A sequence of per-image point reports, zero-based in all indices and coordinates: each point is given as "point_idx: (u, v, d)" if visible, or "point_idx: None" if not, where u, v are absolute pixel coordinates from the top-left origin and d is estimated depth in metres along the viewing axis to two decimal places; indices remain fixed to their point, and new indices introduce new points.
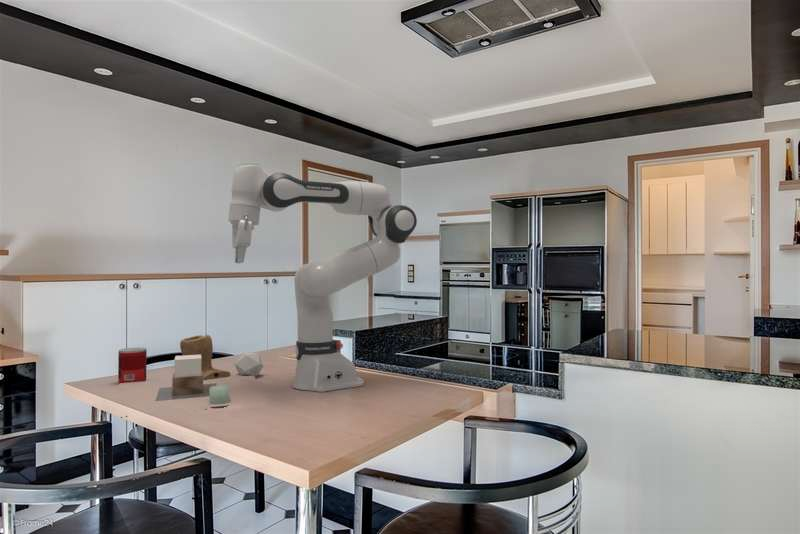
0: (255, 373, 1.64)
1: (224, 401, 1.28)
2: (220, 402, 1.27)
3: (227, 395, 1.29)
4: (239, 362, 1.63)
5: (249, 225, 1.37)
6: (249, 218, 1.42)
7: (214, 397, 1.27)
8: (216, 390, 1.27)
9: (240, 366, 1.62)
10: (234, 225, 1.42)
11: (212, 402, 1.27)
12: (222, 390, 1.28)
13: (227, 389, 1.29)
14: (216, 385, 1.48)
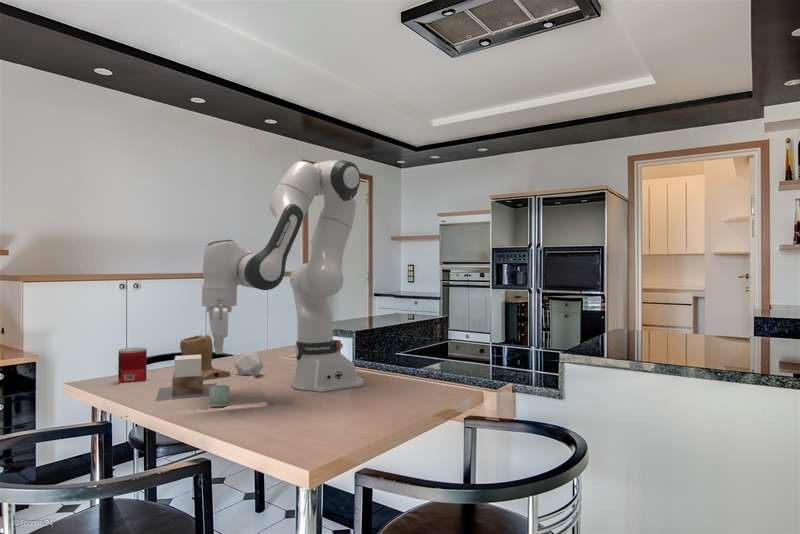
0: (255, 373, 1.64)
1: (224, 401, 1.28)
2: (220, 402, 1.27)
3: (227, 395, 1.29)
4: (239, 362, 1.63)
5: (224, 314, 1.22)
6: (225, 302, 1.26)
7: (214, 397, 1.27)
8: (216, 390, 1.27)
9: (240, 366, 1.62)
10: (209, 311, 1.27)
11: (212, 402, 1.27)
12: (222, 390, 1.28)
13: (227, 389, 1.29)
14: (216, 385, 1.48)
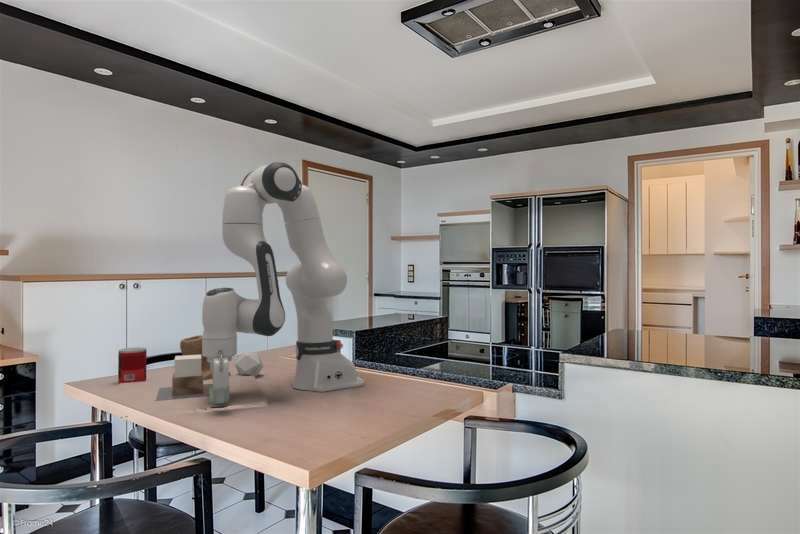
0: (255, 373, 1.64)
1: (224, 401, 1.28)
2: None
3: (227, 395, 1.29)
4: (239, 362, 1.63)
5: (225, 366, 1.21)
6: (225, 352, 1.26)
7: (214, 397, 1.27)
8: None
9: (240, 366, 1.62)
10: (209, 361, 1.27)
11: (212, 402, 1.27)
12: None
13: (227, 389, 1.29)
14: None
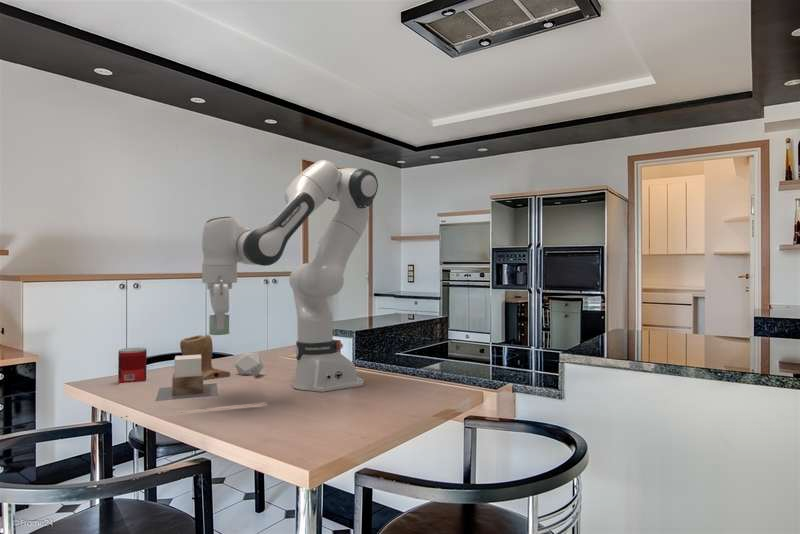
0: (255, 373, 1.64)
1: (224, 328, 1.28)
2: (220, 329, 1.28)
3: (227, 323, 1.29)
4: (239, 362, 1.63)
5: (225, 289, 1.22)
6: (225, 279, 1.27)
7: (214, 323, 1.27)
8: None
9: (240, 366, 1.62)
10: (209, 288, 1.28)
11: (212, 329, 1.28)
12: None
13: (227, 317, 1.29)
14: (216, 385, 1.48)
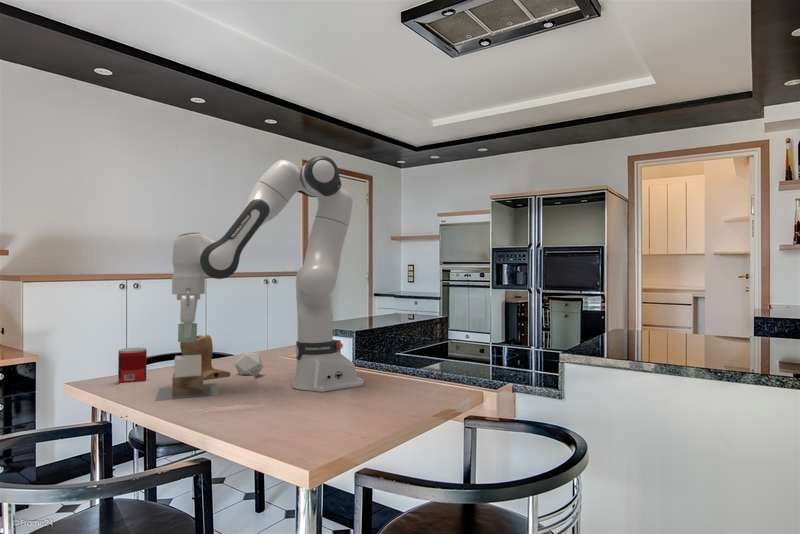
0: (255, 373, 1.64)
1: (191, 336, 1.39)
2: None
3: (194, 331, 1.40)
4: (239, 362, 1.63)
5: (191, 300, 1.32)
6: (193, 290, 1.37)
7: (182, 331, 1.38)
8: None
9: (240, 366, 1.62)
10: (178, 298, 1.38)
11: (180, 336, 1.38)
12: None
13: (194, 325, 1.40)
14: (216, 385, 1.48)
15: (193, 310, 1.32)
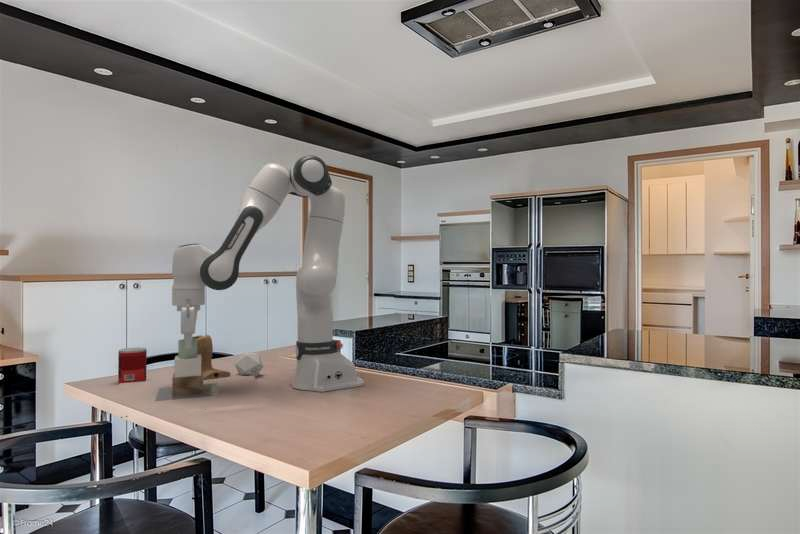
0: (255, 373, 1.64)
1: (192, 352, 1.39)
2: (188, 353, 1.38)
3: (195, 347, 1.40)
4: (239, 362, 1.63)
5: (191, 312, 1.32)
6: (193, 302, 1.37)
7: (182, 348, 1.38)
8: (184, 342, 1.38)
9: (240, 366, 1.62)
10: (178, 310, 1.38)
11: (180, 353, 1.38)
12: None
13: (194, 341, 1.40)
14: (216, 385, 1.48)
15: (193, 322, 1.32)
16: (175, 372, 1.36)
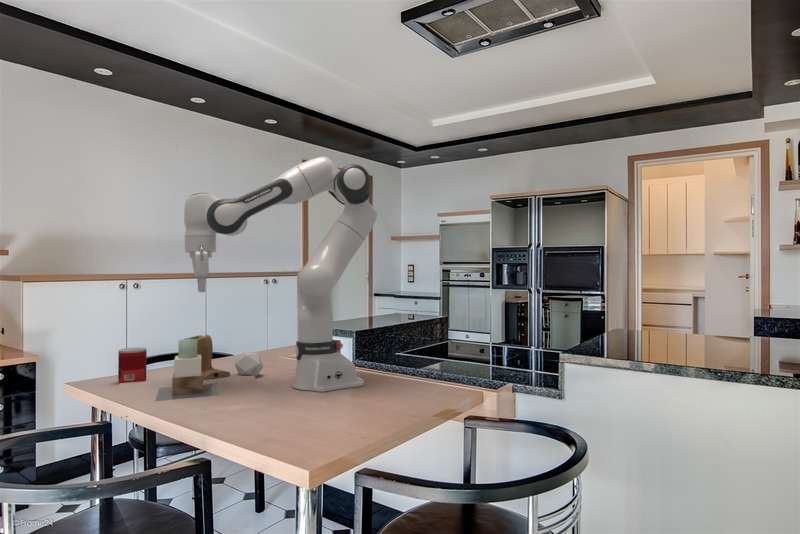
0: (255, 373, 1.64)
1: (192, 352, 1.39)
2: (188, 353, 1.38)
3: (195, 347, 1.40)
4: (239, 362, 1.63)
5: (205, 255, 1.39)
6: (205, 247, 1.44)
7: (182, 348, 1.38)
8: (184, 342, 1.38)
9: (240, 366, 1.62)
10: (191, 256, 1.44)
11: (180, 353, 1.38)
12: (190, 342, 1.39)
13: (195, 341, 1.40)
14: (216, 385, 1.48)
15: (207, 265, 1.39)
16: (175, 372, 1.36)
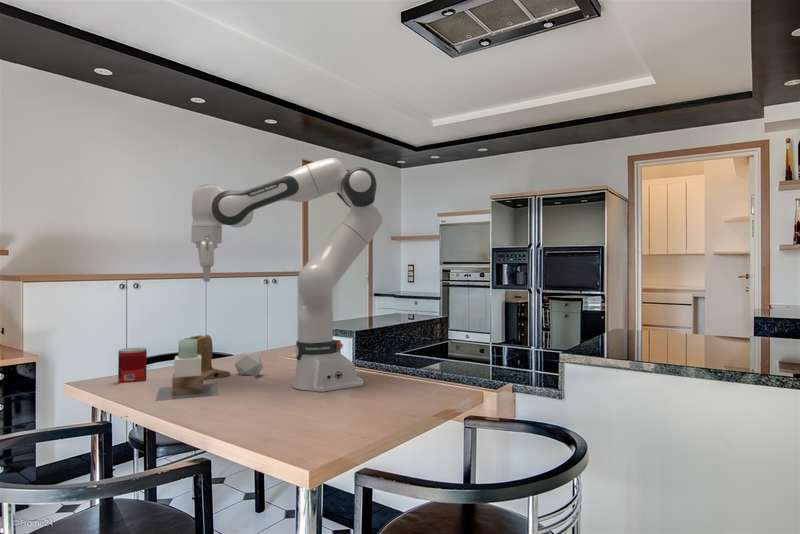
0: (255, 373, 1.64)
1: (192, 352, 1.39)
2: (188, 353, 1.38)
3: (195, 347, 1.40)
4: (239, 362, 1.63)
5: (210, 246, 1.42)
6: (211, 238, 1.47)
7: (182, 348, 1.38)
8: (184, 342, 1.38)
9: (240, 366, 1.62)
10: (197, 246, 1.48)
11: (180, 353, 1.38)
12: (190, 342, 1.39)
13: (195, 341, 1.40)
14: (216, 385, 1.48)
15: (212, 254, 1.42)
16: (175, 372, 1.36)
